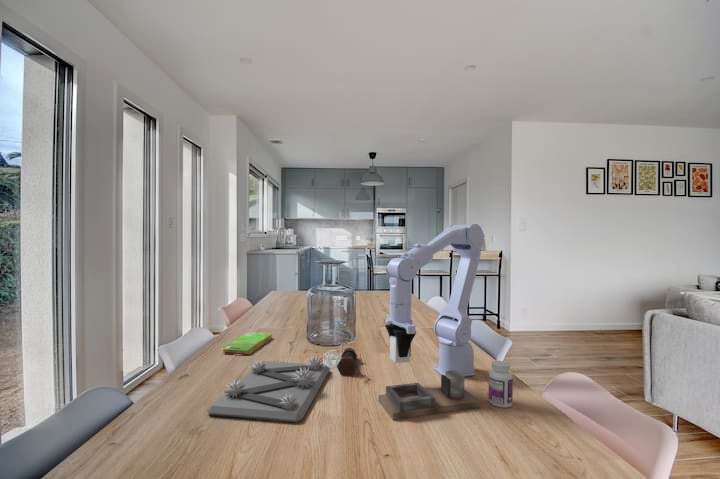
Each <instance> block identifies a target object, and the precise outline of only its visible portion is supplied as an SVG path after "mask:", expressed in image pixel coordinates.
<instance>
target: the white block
mask: <svg viewBox="0 0 720 479" xmlns="http://www.w3.org/2000/svg"><path fill="white" fill-rule="evenodd" d="M411 345H412V344H411ZM411 345H410V348H409V352H408V356H407V357H399V354H398V345H397V340H396V336H390V337H389V359H390V360H391V361H392V362H393V363H394V364H403V363H410V361H411V360H410V359H411V358H410V357H411V356H412V353H411V350H412V349H411V348H412V346H411Z"/></svg>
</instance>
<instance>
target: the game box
mask: <svg viewBox="0 0 720 479" xmlns="http://www.w3.org/2000/svg"><path fill="white" fill-rule="evenodd" d="M272 339H273V333H267V332H266V333H265V332H247V333H245V334H244V335H242V336H240V337H238V338H236V339H235V340H233V341H231V342H230V343H227V344H225V345H223V346H222V347H221V348H220V349H221V350H222V353H226V354H227V353H229V354H239V355H240V354H242V355H250V354H252V353H254V352H255V351H256V350H258V349H259V348H261V347H262V346H263V345H265V344H267V343H268V342H270V341H271V340H272Z"/></svg>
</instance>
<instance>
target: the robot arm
mask: <svg viewBox="0 0 720 479" xmlns="http://www.w3.org/2000/svg"><path fill="white" fill-rule="evenodd" d="M485 237H486V236H485V233H484V230H483V229H482V226H480V225H479V224H478V223H470V224H450V225H449V226H448V227H445V228H444V230H443V231H442V232H440V233H439V234H438V235H437V236H435V237H434V238H433V239H431V241H429V242H428V243H426V244H424V243H415V244H414V245H413V248H412V249H410V250H408V251H407V252H403V253H401V255H400V257H393V258H391V259H390V260H389V262H388V263H387V265H386V266H387V267H385V273H386V275H387V277H388V280H389V281H388V282H389V313H387V314H386V319H385V321H384V322H385V323H386V324H385V325H384V326H385V330H386V331H387V334H388V337H389V338H390V336H396V340H397V345H398V354H399V357H407V356H408V352H409V348H410V345H412V344H411V343H412V342H413V340H414V337H416V335H417V331H416V325H414V323H413V320H412V284H413V282H412V281H413V280H414V279H415V278H416V276H417V273H418V272H419V271H420V270H421V269H422V268H423V267H425V266H426V265H428V264H429V263H431V262H432V261H433V259H434V255H435V254H437V253H438V252H441V250H443V249H445V248H447V247H448V246H451V247H452V248H453V250H454V251H455V252H456V253H457V254H458V255H459V257H460V259H459V263H458V266H457V272H456V275H455V279H454V283H453V285H452V290H451V293H450V297H449V300H448V305H447V307H446V308H444V309H442V310H441V311H440V312H439V314H438V318H437V319H436V321H435V322H434V325H433V331H434V334H435V335H436V337H437V341H439V342H438V343H439V345H438V346H439V348H438V349H439V350H438V352H439V353H438V360H439V361H438V366H433V367H432V368H433V370H434V371H436V372H437V373H438V374H440V375H445V373H446V372H447V371H451V370H453V371H459V372H462V373H464V375H465V377H471V376H472V377H473V376H475V375H476V372H474V365H475V364H474V363H475V362H474V360H475V353H474V348H473V345H472V344H471V343H470V339H471V336H472V323H473V321H472V319H471V318H470V316H469V315H468V313H467V310H468V306H469V302H470V299H471V294H472V290H473V286H474V282H475V279H476V276H477V271H478V267H479V264H480V259H481V255H482V254H481V252H482V248H483V244H484V240H485ZM455 319H456V320H455Z"/></svg>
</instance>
